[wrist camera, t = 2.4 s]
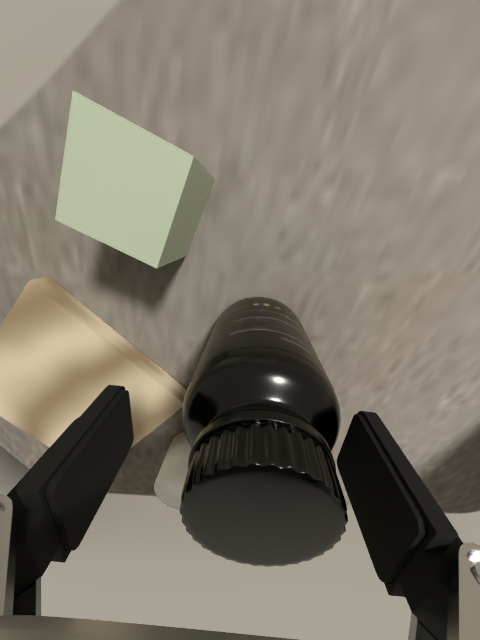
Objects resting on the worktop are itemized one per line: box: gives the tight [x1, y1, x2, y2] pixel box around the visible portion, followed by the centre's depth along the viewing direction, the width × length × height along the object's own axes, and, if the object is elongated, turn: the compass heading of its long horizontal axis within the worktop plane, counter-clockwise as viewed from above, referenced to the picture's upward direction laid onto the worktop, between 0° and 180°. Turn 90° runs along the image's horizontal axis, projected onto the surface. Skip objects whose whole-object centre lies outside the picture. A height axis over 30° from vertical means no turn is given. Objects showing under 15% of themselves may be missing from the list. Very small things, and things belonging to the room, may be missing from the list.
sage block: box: [55, 91, 215, 268], centre depth 12 cm, size 5×5×5 cm
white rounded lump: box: [154, 432, 192, 510], centre depth 21 cm, size 5×5×4 cm
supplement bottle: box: [180, 297, 348, 567], centre depth 12 cm, size 7×7×12 cm
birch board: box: [0, 276, 187, 448], centre depth 20 cm, size 14×14×2 cm
